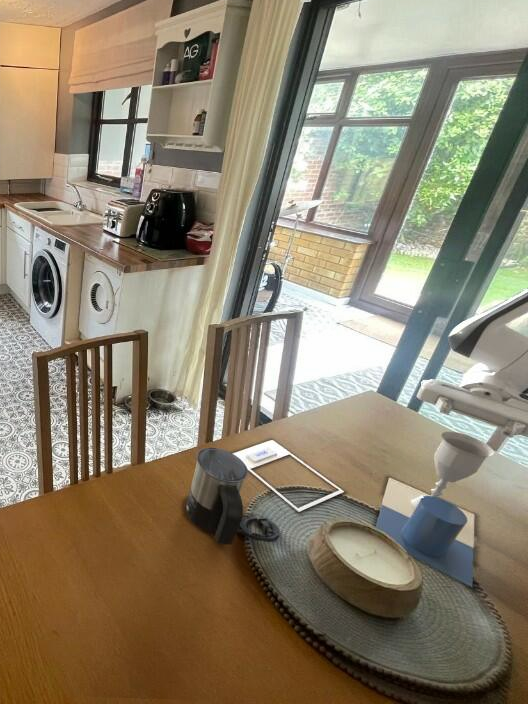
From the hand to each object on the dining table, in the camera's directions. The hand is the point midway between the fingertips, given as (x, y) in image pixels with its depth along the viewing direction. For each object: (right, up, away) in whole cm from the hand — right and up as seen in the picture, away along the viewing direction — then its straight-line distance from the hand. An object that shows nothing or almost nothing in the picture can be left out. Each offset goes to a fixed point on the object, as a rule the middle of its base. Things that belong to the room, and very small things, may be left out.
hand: (475, 421), depth 87 cm
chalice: (-10, -19, +1) cm, 21 cm away
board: (-14, -21, -2) cm, 25 cm away
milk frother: (-53, -21, -2) cm, 57 cm away
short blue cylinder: (-18, -22, -6) cm, 29 cm away
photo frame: (-34, -15, +10) cm, 39 cm away
